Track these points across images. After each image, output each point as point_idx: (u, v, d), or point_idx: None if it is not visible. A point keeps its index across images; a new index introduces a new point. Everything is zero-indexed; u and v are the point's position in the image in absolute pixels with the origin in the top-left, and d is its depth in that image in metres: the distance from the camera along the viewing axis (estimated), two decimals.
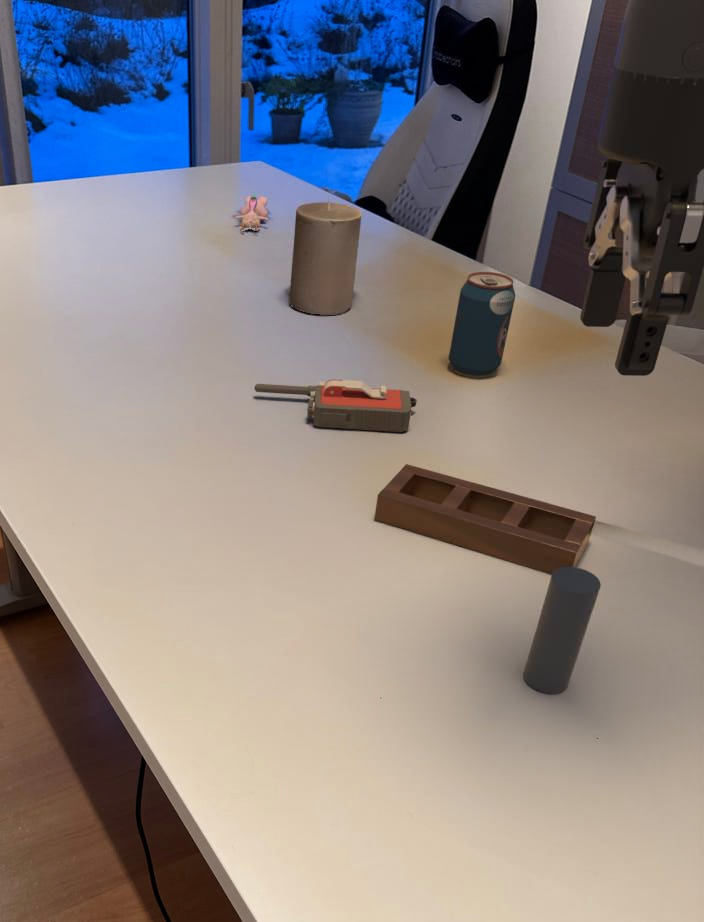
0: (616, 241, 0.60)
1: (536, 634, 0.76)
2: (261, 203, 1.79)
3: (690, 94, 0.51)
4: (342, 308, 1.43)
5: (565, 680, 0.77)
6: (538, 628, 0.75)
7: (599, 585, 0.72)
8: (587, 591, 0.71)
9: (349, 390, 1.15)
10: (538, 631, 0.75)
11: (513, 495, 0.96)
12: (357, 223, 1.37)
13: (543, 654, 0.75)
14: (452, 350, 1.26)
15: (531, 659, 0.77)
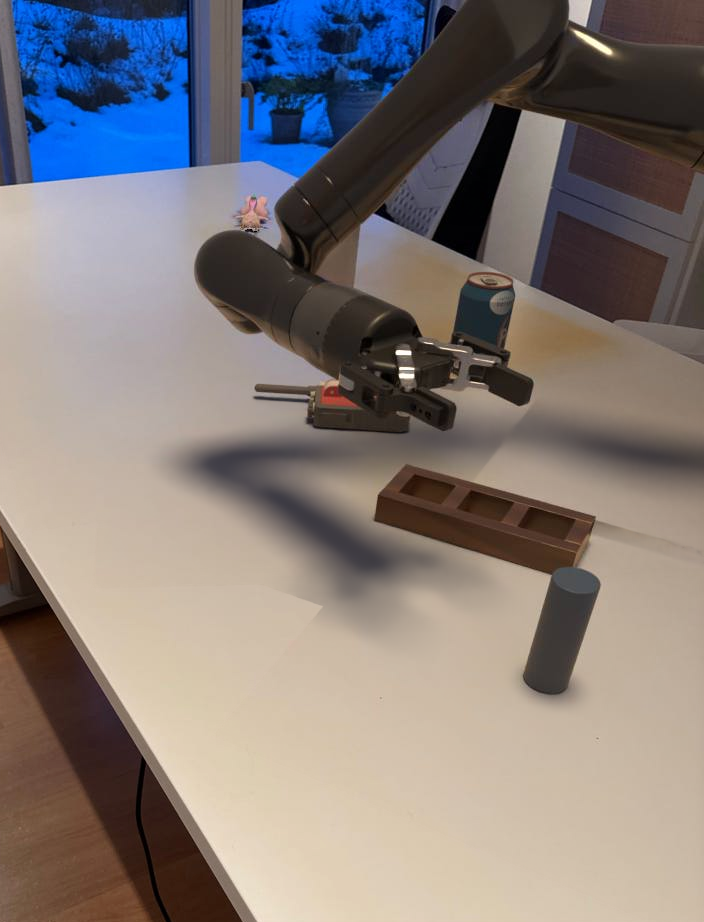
0: (442, 385, 0.78)
1: (536, 634, 0.76)
2: (261, 203, 1.79)
3: (327, 358, 0.82)
4: None
5: (565, 680, 0.77)
6: (538, 628, 0.75)
7: (599, 585, 0.72)
8: (587, 591, 0.71)
9: None
10: (538, 631, 0.75)
11: (513, 495, 0.96)
12: None
13: (543, 654, 0.75)
14: None
15: (531, 659, 0.77)
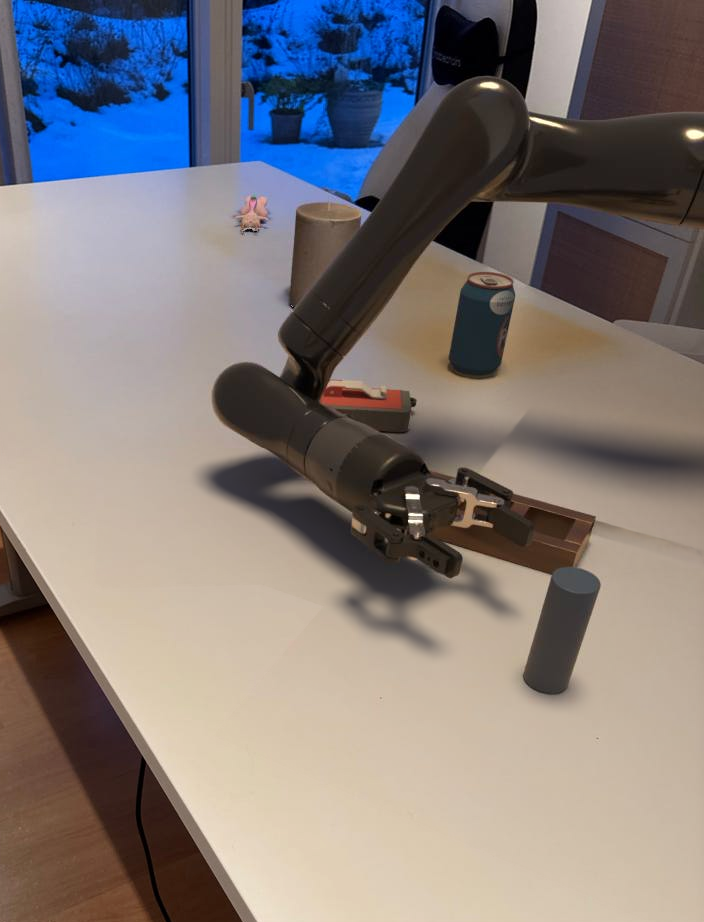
0: None
1: (536, 634, 0.76)
2: (261, 203, 1.79)
3: (340, 493, 0.87)
4: None
5: (565, 680, 0.77)
6: (538, 628, 0.75)
7: (599, 585, 0.72)
8: (587, 591, 0.71)
9: (349, 390, 1.15)
10: (538, 631, 0.75)
11: (513, 495, 0.96)
12: (357, 223, 1.37)
13: (543, 654, 0.75)
14: (452, 350, 1.26)
15: (531, 659, 0.77)
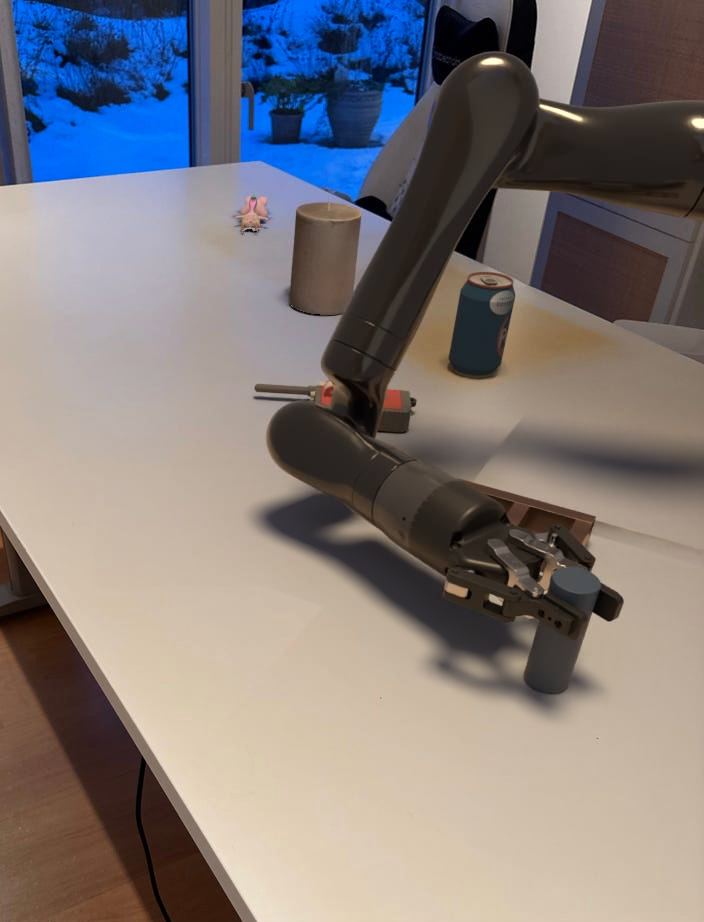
0: None
1: (536, 634, 0.76)
2: (261, 203, 1.79)
3: (414, 544, 0.81)
4: (342, 308, 1.43)
5: (565, 680, 0.77)
6: (538, 628, 0.75)
7: (599, 585, 0.72)
8: (587, 591, 0.71)
9: None
10: (538, 630, 0.75)
11: (513, 495, 0.96)
12: (357, 223, 1.37)
13: (543, 654, 0.75)
14: (452, 350, 1.26)
15: (531, 659, 0.77)
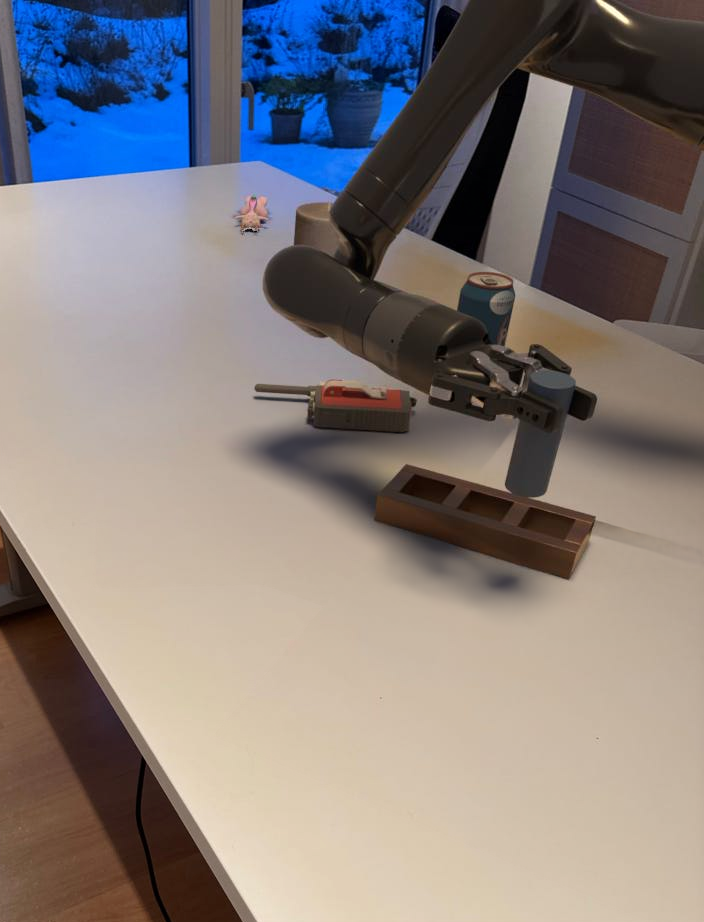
0: None
1: (516, 438, 0.80)
2: (261, 203, 1.79)
3: (401, 364, 0.85)
4: None
5: (543, 483, 0.81)
6: (518, 431, 0.80)
7: (574, 382, 0.77)
8: (563, 386, 0.76)
9: (349, 390, 1.15)
10: (518, 434, 0.80)
11: (513, 495, 0.96)
12: None
13: (522, 456, 0.80)
14: None
15: (512, 465, 0.82)
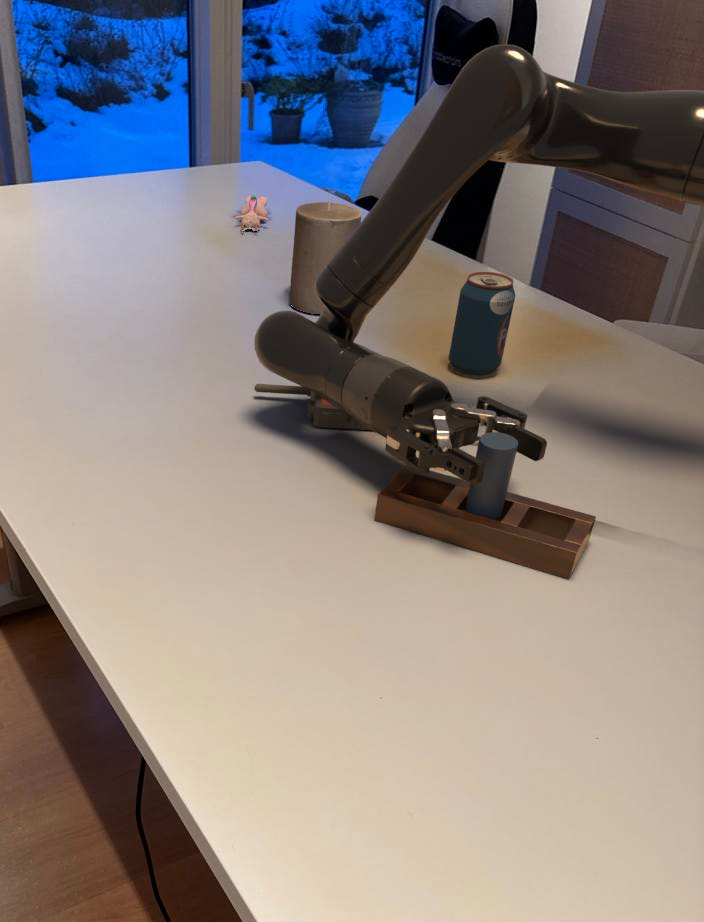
0: None
1: (469, 489, 0.94)
2: (261, 203, 1.79)
3: (374, 419, 0.98)
4: None
5: None
6: (470, 484, 0.93)
7: (517, 444, 0.90)
8: (506, 447, 0.89)
9: None
10: (470, 486, 0.93)
11: (513, 495, 0.96)
12: (357, 223, 1.37)
13: (474, 505, 0.93)
14: (452, 350, 1.26)
15: None
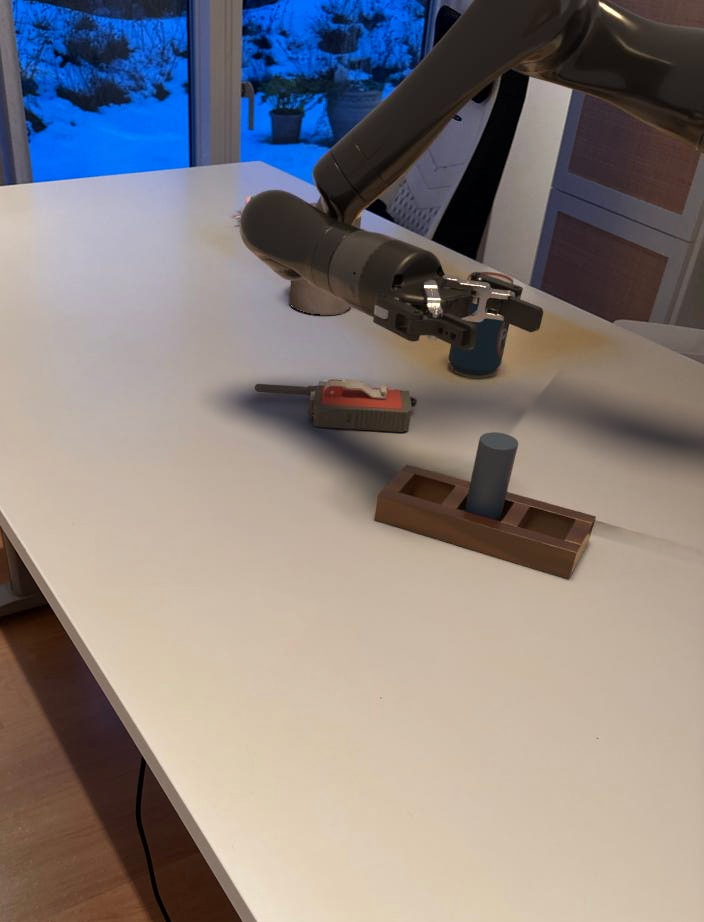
0: (463, 316, 0.90)
1: (469, 489, 0.94)
2: None
3: (362, 295, 0.94)
4: (342, 308, 1.43)
5: None
6: (470, 484, 0.93)
7: (517, 444, 0.90)
8: (506, 447, 0.89)
9: (349, 390, 1.15)
10: (470, 486, 0.93)
11: (513, 495, 0.96)
12: (357, 223, 1.37)
13: (474, 505, 0.93)
14: (452, 350, 1.26)
15: None
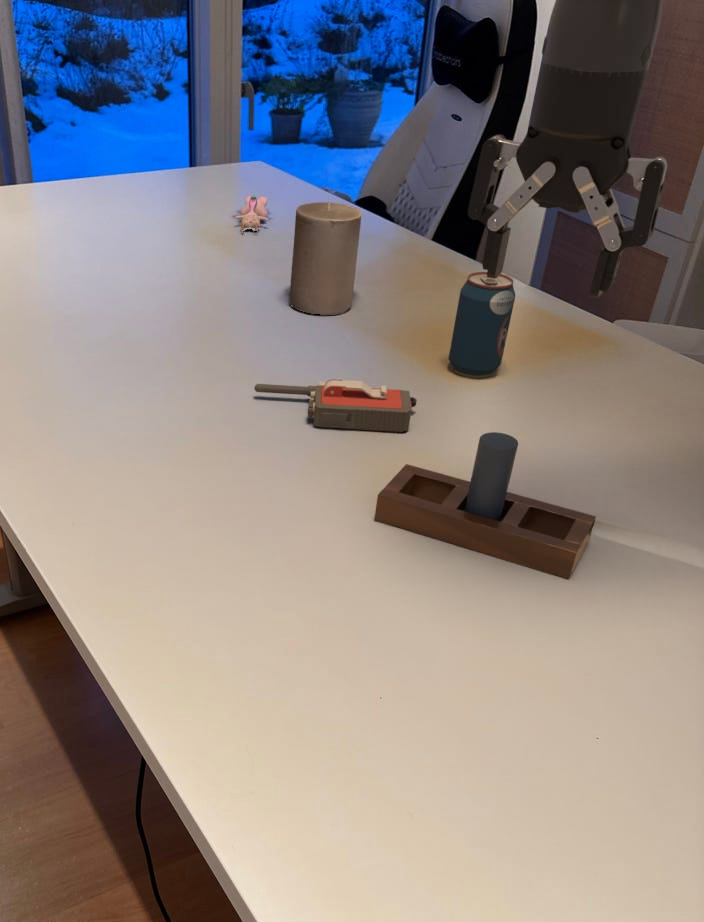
0: (542, 204, 0.75)
1: (469, 489, 0.94)
2: (261, 203, 1.79)
3: (641, 82, 0.68)
4: (342, 308, 1.43)
5: None
6: (470, 484, 0.93)
7: (517, 444, 0.90)
8: (506, 447, 0.89)
9: (349, 390, 1.15)
10: (470, 486, 0.93)
11: (513, 495, 0.96)
12: (357, 223, 1.37)
13: (474, 505, 0.93)
14: (452, 350, 1.26)
15: None
